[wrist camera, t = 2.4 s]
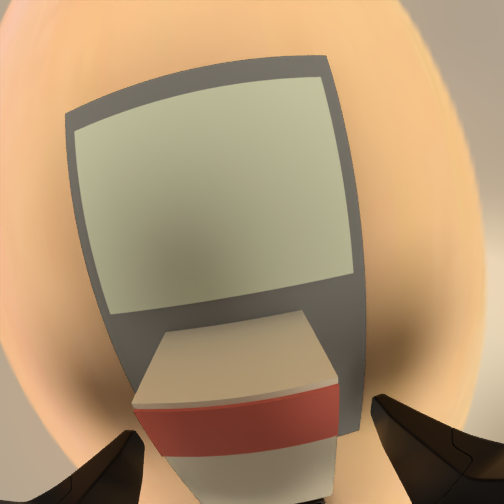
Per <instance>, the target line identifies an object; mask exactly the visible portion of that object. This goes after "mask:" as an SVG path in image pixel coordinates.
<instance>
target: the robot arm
mask: <svg viewBox="0 0 504 504" xmlns="http://www.w3.org/2000/svg"><path fill="white" fill-rule="evenodd" d="M371 416H372V419H373V422H374V424H375V427H376V430H377V433H378V435H379V438H380V441H381V443H382V446H383V448H384V450H385V452H386V454H387V456H388V458H389V460H390V461H391V463H392V465H393V467H394V469H395V471H396V473H397V475H398V477H399V479H400V481H401V483H402V484H403V486H404V488H405V490H406V492H407V494H408V496H409V498H410V500H411V502H412V504H504V444H503V443H499V442H494V441H490V440H487V439H483V438H479V437H476V436H473V435H470V434H467V433H465V432H462V431H460V430H457V429H455V428H452V427H450V426H448V425H446V424H444V423H442V422H440V421H437V420H435V419H433V418H431V417H429V416H427V415H425V414H423V413H421V412H419V411H417V410H415V409H413V408H411V407H409V406H407V405H405V404H403V403H401V402H399V401H397V400H395V399H393V398H391V397H389V396H387V395H385V394H379V395H377V396H374V397H373V398H372V404H371ZM144 450H145V446H144V443H143V441H142V440H141V438H140V437H139V435H138V434H137V432H136V431H134V430H125V431H124V432H122V433H121V434H120V435H119V436H118V437H117V438H115V439H114V440H113V441H112V442H111V443H110V444H108V445H107V446H106V447H105V448H104V449H102V450H101V451H100V452H99V453H98V454H96V455H95V456H94V457H93V458H91V459H90V460H89V461H88V462H87V463H85V464H84V465H83V466H82V467H80V468H79V469H78V470H77V471H75V472H74V473H73V474H72V475H71V476H69V477H68V478H66V479H65V480H64V481H62V482H61V483H59V484H58V485H57V486H55V487H53V488H52V489H50V490H49V491H47V492H45V493H43V494H42V495H40V496H38V497H36V498H34V499H32V500H30V501H27V502H13V501H4V500H0V504H138V502H139V496H140V490H141V484H142V478H143V464H144ZM296 504H325V500H324V498H319V499H315V500H311V501H306V502H301V503H296Z"/></svg>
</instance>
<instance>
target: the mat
mask: <svg viewBox="0 0 504 504" xmlns="http://www.w3.org/2000/svg"><path fill="white" fill-rule="evenodd" d="M65 129H66V149H67V161H68V171H69V180H70V188H71V195H72V201H73V207H74V213H75V219H76V224H77V229H78V234H79V238H80V243H81V247H82V251H83V255H84V259H85V263H86V267H87V271H88V274H89V278H90V281H91V285H92V288H93V291H94V294H95V297H96V300H97V304H98V307H99V309H100V312H101V315H102V318H103V321H104V324H105V326H106V329H107V331H108V334H109V337H110V339H111V342H112V344H113V347H114V349H115V351H116V354H117V356H118V358H119V361H120V363H121V365H122V367H123V370H124V372H125V374H126V376H127V378H128V380H129V382H130V384H131V386H132V388H133V390H134V392H135V394H136V392H137V390H138V388H139V386H140V384H141V381H142V379H143V377H144V375H145V373H146V371H147V369H148V367H149V365H150V363H151V361H152V358H153V356H154V354H155V352H156V350H157V348H158V346H159V344H160V342H161V340H162V338H163V336H164V334H165V332H170V331H178V330H186V329H194V328H201V327H208V326H215V325H221V324H228V323H234V322H240V321H246V320H251V319H257V318H263V317H268V316H273V315H279V314H284V313H289V312H294V311H299V310H302V311H303V313H304V314H305V316H306V318H307V320H308V322H309V324H310V325H311V327H312V329H313V331H314V333H315V335H316V337H317V338H318V340H319V342H320V344H321V346H322V348H323V350H324V351H325V353H326V355H327V357H328V359H329V361H330V363H331V365H332V366H333V368H334V370H335V372H336V374H337V376H338V384H339V426H338V436H337V437H339V436H342V435H345V434H349V433H352V432H355V431H358V430H359V427H360V419H361V411H362V401H363V389H364V375H365V355H366V287H365V267H364V252H363V240H362V229H361V220H360V211H359V203H358V196H357V189H356V182H355V176H354V170H353V164H352V158H351V153H350V147H349V142H348V137H347V133H346V128H345V123H344V119H343V115H342V111H341V106H340V102H339V98H338V95H337V91H336V87H335V83H334V80H333V76H332V73H331V70H330V66H329V63H328V60H327V57H326V56H323V55H307V56H281V57H267V58H257V59H248V60H240V61H233V62H226V63H220V64H214V65H209V66H204V67H199V68H194V69H190V70H185V71H181V72H177V73H173V74H169V75H166V76H162V77H159V78H155V79H152V80H148V81H145V82H142V83H139V84H136V85H133V86H130V87H127V88H124V89H122V90H119V91H116V92H114V93H111V94H108V95H106V96H103V97H101V98H99V99H96V100H94V101H91V102H89V103H87V104H85V105H82V106H80V107H78V108H76V109H74V110H72V111H70V112H68V113H66V114H65Z"/></svg>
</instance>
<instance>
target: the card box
mask: <svg viewBox="0 0 504 504" xmlns="http://www.w3.org/2000/svg"><path fill="white" fill-rule="evenodd" d="M131 404H132V406H133V407H134V411H133V412H134V414H135V415H136V417H137V419H138V420H139V422H140V424H141V425H142V427H143V429H144V430H145V432H146V433H147V435H148V436H149V438H150V440H151V441H152V443H153V444H154V446H155V447H156V449H157V450H158V451H159V453H160V454H161V456H164V457H165V458H166V460H167V461H168V462H169V464H170V465H171V467H172V468H173V469H174V471H175V472H176V473H177V475H178V476H179V477H180V478H181V480H182V481H183V482H184V484H185V485H186V486H187V487H188V488H189V490H190V491H191V492H192V493H193V494H194V496H195V497H196V498H197V499H198V500H199V501H200V503H201V504H296V503H301V502H306V501H311V500H315V499H319V498H323V497H327V496H331V495H332V492H333V482H334V472H335V460H336V445H337V436H338V426H339V384H338V376H337V374H336V372H335V370H334V368H333V366H332V365H331V363H330V361H329V359H328V357H327V355H326V353H325V351H324V350H323V348H322V346H321V344H320V342H319V340H318V338H317V337H316V335H315V333H314V331H313V329H312V327H311V325H310V324H309V322H308V320H307V318H306V316H305V314H304V313H303V311H302V310H299V311H294V312H289V313H284V314H279V315H273V316H268V317H263V318H257V319H251V320H246V321H240V322H234V323H228V324H221V325H215V326H208V327H201V328H194V329H186V330H178V331H170V332H165V334H164V336H163V338H162V340H161V342H160V344H159V346H158V348H157V350H156V352H155V354H154V356H153V358H152V361H151V363H150V365H149V367H148V369H147V371H146V373H145V375H144V377H143V379H142V381H141V384H140V386H139V388H138V390H137V392H136V394H135V396H134V399H133V401H132V403H131Z"/></svg>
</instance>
